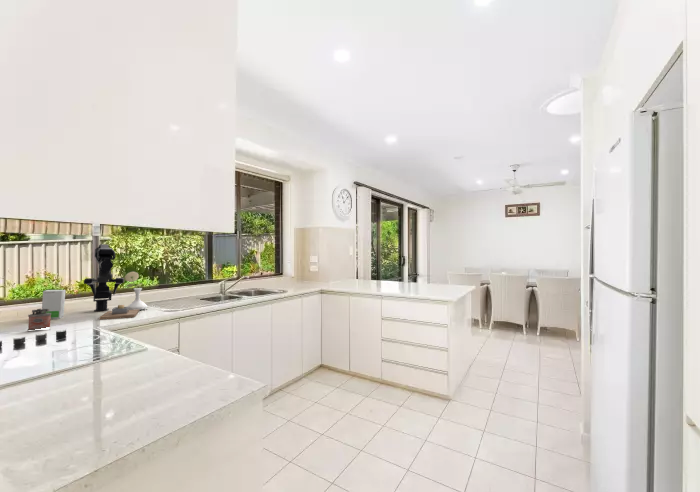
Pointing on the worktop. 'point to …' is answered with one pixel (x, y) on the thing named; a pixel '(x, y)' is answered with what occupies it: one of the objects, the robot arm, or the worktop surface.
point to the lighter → (39, 319)
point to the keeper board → (115, 316)
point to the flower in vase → (137, 303)
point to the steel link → (120, 310)
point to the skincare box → (54, 302)
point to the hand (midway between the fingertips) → (104, 295)
